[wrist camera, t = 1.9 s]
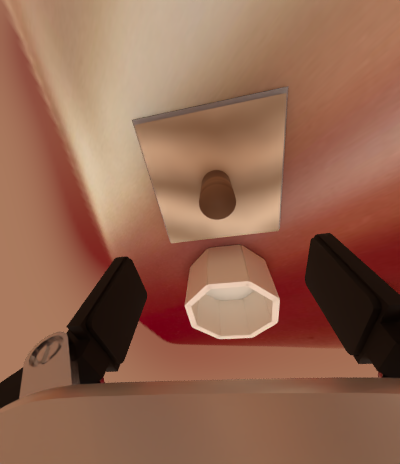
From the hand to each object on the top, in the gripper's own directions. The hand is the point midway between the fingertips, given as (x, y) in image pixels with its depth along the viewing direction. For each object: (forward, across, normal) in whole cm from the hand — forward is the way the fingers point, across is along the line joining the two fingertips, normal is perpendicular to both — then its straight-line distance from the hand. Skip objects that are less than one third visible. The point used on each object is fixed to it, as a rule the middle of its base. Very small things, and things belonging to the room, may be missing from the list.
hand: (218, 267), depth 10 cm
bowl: (+15, 0, +15) cm, 21 cm away
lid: (+14, 0, -1) cm, 14 cm away
